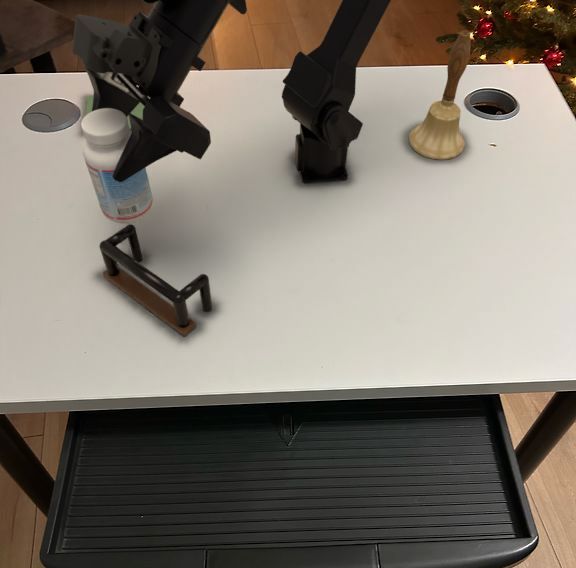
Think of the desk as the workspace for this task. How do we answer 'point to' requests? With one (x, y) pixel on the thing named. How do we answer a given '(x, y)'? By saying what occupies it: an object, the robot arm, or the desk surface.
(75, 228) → the desk surface
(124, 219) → the pill bottle
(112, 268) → the rail rack
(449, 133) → the hand bell
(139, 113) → the felt mat
